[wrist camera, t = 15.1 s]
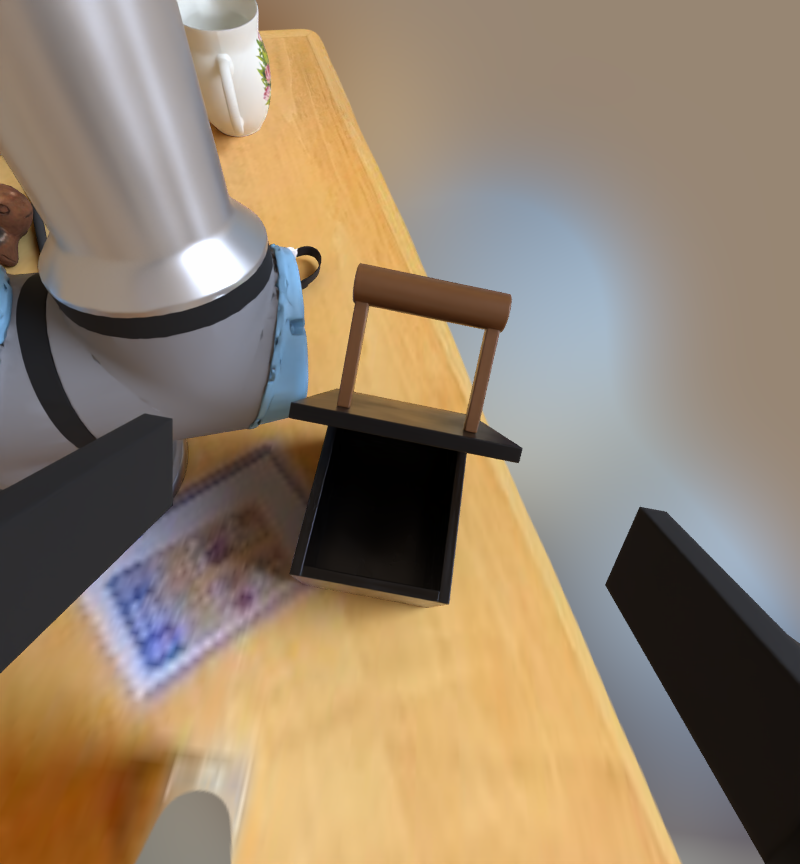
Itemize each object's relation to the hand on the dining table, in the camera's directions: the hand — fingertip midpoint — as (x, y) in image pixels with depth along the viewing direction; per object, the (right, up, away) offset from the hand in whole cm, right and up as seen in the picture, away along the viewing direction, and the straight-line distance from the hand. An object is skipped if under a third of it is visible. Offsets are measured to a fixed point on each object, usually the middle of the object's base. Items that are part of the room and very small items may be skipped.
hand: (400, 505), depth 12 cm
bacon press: (0, +3, +17) cm, 17 cm away
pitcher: (-23, +46, +51) cm, 72 cm away
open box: (-2, -6, +31) cm, 32 cm away
